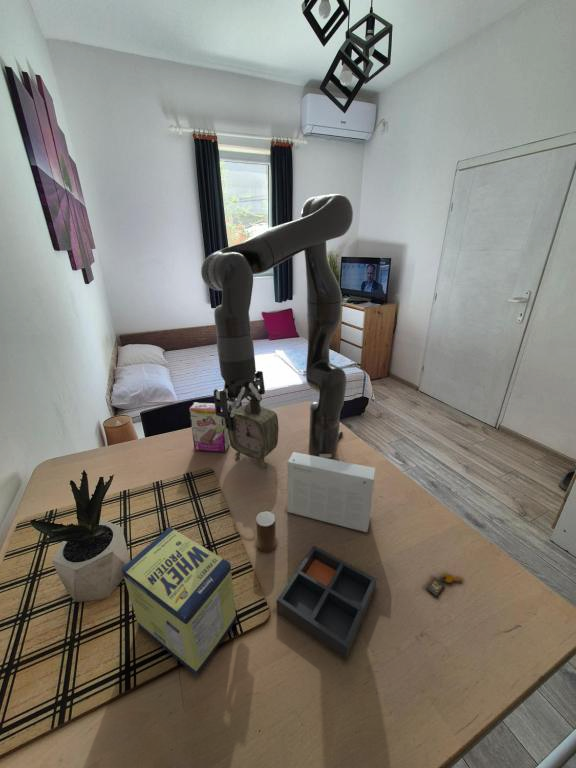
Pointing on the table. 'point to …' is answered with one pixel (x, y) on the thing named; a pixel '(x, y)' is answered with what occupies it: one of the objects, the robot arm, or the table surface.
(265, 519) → the brown cylinder
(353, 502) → the skincare box
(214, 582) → the protein box
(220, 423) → the candy bar box
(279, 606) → the grid
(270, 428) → the tabletop clock
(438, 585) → the key tag
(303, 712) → the table surface
